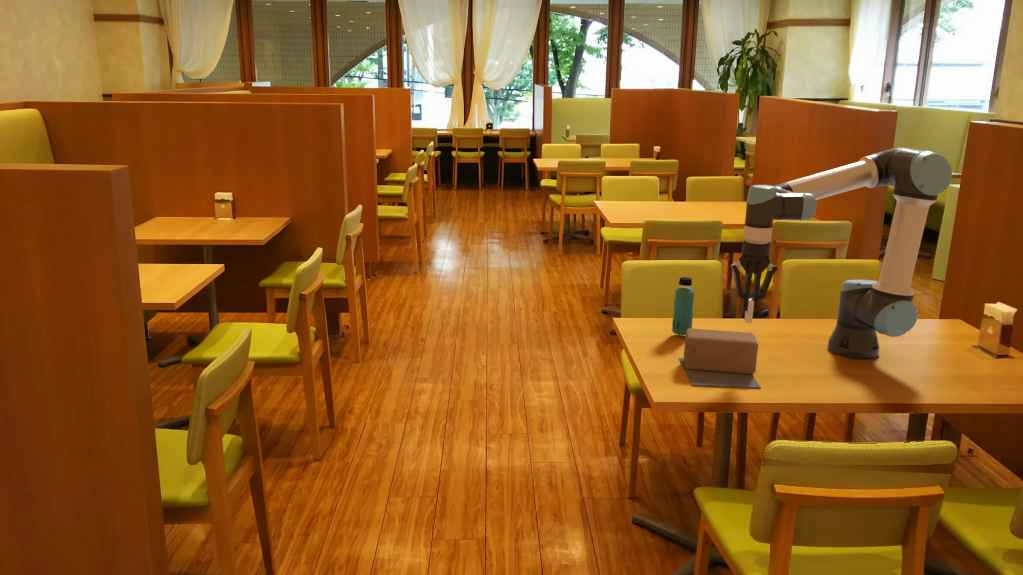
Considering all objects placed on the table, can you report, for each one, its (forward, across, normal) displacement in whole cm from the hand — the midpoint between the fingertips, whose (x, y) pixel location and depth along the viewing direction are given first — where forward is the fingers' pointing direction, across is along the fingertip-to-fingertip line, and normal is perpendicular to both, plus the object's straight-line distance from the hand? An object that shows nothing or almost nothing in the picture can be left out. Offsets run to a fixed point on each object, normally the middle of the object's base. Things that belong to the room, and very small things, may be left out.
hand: (748, 321), depth 235 cm
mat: (+15, +8, +2) cm, 17 cm away
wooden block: (+10, -3, -1) cm, 11 cm away
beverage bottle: (+16, +13, -31) cm, 37 cm away
